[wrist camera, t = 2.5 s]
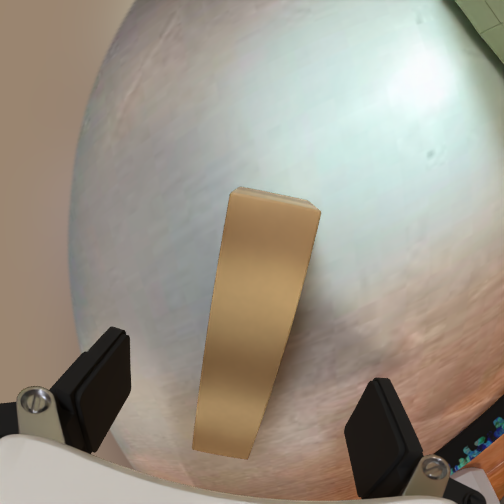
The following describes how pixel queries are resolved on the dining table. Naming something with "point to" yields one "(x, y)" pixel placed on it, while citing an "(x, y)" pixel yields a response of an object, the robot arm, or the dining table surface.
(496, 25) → the shallow round dish
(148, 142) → the dining table surface
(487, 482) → the jar
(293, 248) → the stick
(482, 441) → the knife
